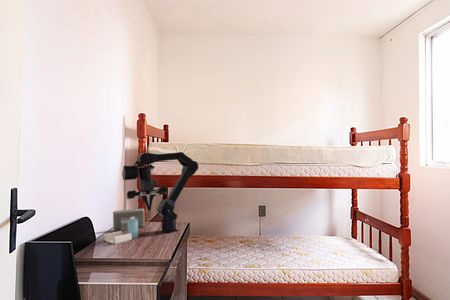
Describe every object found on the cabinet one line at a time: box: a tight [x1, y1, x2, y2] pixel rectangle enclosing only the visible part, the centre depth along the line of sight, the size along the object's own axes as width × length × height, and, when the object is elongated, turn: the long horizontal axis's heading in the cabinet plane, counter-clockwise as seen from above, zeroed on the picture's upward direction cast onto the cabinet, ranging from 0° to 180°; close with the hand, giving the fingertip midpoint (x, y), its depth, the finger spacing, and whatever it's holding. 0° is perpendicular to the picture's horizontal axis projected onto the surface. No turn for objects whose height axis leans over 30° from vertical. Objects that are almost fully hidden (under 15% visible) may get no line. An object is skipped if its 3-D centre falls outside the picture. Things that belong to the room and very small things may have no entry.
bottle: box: [127, 217, 139, 239], centre depth 146 cm, size 5×5×10 cm
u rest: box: [103, 230, 133, 245], centre depth 140 cm, size 8×10×3 cm
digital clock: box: [112, 208, 146, 232], centre depth 164 cm, size 16×9×11 cm, turn 98°
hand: (149, 210), depth 144 cm, fingers closed
